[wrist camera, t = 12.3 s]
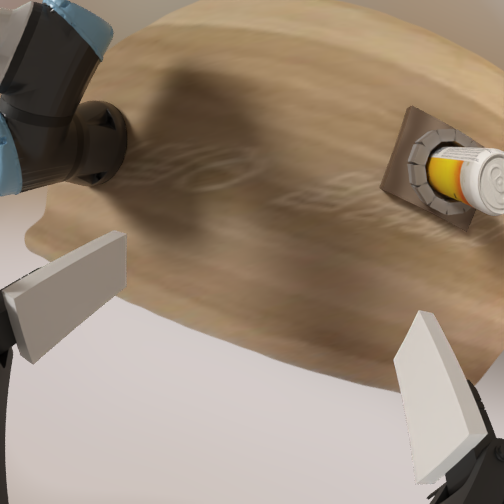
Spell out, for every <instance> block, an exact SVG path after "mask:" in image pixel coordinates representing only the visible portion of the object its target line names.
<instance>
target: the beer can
mask: <svg viewBox="0 0 504 504" xmlns="http://www.w3.org/2000/svg"><path fill="white" fill-rule="evenodd" d="M425 169H426V177H427V179H428V182H429V183H430V185H431V186H432V187H433V188H434V189H435V190H436V191H438V192H440V193H442V194H444V195H447V196H449V197H451V198H454V199H456V200H458V201H460V202H462V203H465V204H467V205H469V206H471V207H473V208H475V209H477V210H480V211H482V212H484V213H486V214H488V215H491V216H499V215H502V214H504V152H503V151H501V150H499V149H494V148H473V147H439V148H437V149H435V150H434V151H432V152H431V154H430V155H429V156H428V159H427V162H426V167H425Z"/></svg>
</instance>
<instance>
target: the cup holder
mask: <svg viewBox="0 0 504 504" xmlns="http://www.w3.org/2000/svg"><path fill="white" fill-rule="evenodd" d="M439 147H473V148H485V147H483V146H482V145H480V144H479V143H477V142H476V141H474V140H472V138H470V137H469V136H467V135H465V134H464V133H462V132H460V131H459V130H456V129H454V128H453V127H451V126H449V125H448V124H446V123H444V122H442V121H440V120H439V119H437V118H435V117H433V116H431V115H429V114H427V113H425V112H424V111H422V110H420V109H418V108H416V107H414V106H410V107H409V108H407V110H406V114H405V117H404V120H403V123H402V126H401V129H400V132H399V135H398V138H397V141H396V144H395V147H394V150H393V153H392V155H391V158H390V161H389V164H388V166H387V169H386V172H385V175H384V177H383V180H382V183H381V185H380V188H381V189H382V190H384V191H386V192H389V193H391V194H393V195H395V196H397V197H400V198H402V199H404V200H406V201H408V202H410V203H412V204H414V205H416V206H418V207H420V208H422V209H424V210H426V211H428V212H430V213H432V214H434V215H436V216H438V217H440V218H442V219H444V220H446V221H448V222H449V223H451V224H453V225H455V226H457V227H459V228H461V229H462V230H464V231H466V232H467V230H468V228H469V225H470V223H471V220H472V218H473V216H474V213H475V211H476V209H475V208H473V207H471V206H469V205H467V204H465V203H462V202H460V201H458V200H456V199H454V198H451V197H449V196H447V195H444V194H442V193H440V192H438V191H436V190H435V189H434V188H433V187H432V186H431V185H430V183H429V182H428V179H427V177H426V169H425V167H426V162H427V159H428V156H429V155H430V154H431V152H432V151H434V150H435V149H437V148H439Z"/></svg>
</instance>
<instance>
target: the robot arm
mask: <svg viewBox="0 0 504 504" xmlns="http://www.w3.org/2000/svg"><path fill="white" fill-rule="evenodd" d="M112 38H113V29H112V27H111V26H110V25H109V24H108V23H107V22H106V21H104V20H103V19H102V18H100V17H98V16H96V15H95V14H94V13H92V12H90V11H88V10H87V9H84V8H83V7H81V6H79V5H77V4H75V3H71V2H70V1H67V0H43V4H40V3H37V2H33V1H30V2H28V3H26V4H24V5H22V6H20V7H18V8H17V9H14V10H11V9H5V8H0V93H1V94H2V95H1V98H0V196H5V195H11V194H15V195H17V194H19V193H21V192H25V191H28V190H32V189H35V188H39V187H43V186H47V185H51V184H55V183H59V182H63V181H66V182H70V183H74V184H78V185H83V186H93V185H97V184H101V183H104V182H106V181H108V180H109V179H110V178H112V177H113V176H114V175H115V173H116V172H117V171H118V169H119V167H120V166H121V164H122V161H123V159H124V155H125V151H126V145H127V132H126V126H125V122H124V120H123V117H122V115H121V114H120V112H119V111H118V109H117V108H116V107H114V106H113V105H112V104H110V103H107V102H103V101H88V102H84V103H82V104H79V103H80V101H81V99H82V97H83V94H84V92H85V90H86V88H87V86H88V84H89V82H90V80H91V78H92V77H93V75H94V73H95V71H96V69H97V67H98V65H99V64H100V62H102V60H103V55H104V54H105V52H106V50H107V47H108V46H109V44H110V42H111V40H112ZM126 247H127V234H126V233H122V232H119V231H115V230H113V231H111V232H109V233H107V234H105V235H103V236H101V237H99V238H97V239H95V240H93V241H91V242H89V243H87V244H85V245H83V246H81V247H79V248H77V249H75V250H73V251H71V252H69V253H67V254H66V255H64V256H62V257H60V258H58V259H56V260H54V261H52V262H51V263H49V264H47V265H45V266H43V267H41V268H38V269H36V270H34V271H32V272H31V273H29V275H25V276H23V277H22V279H18V280H16V281H15V282H13V283H11V284H10V285H8V286H6V287H5V288H3V289H1V290H0V504H9V503H8V494H7V484H6V467H5V423H6V408H7V396H8V387H9V379H10V371H11V365H12V359H13V350H12V346H13V345H14V344H16V343H17V346H18V349H19V352H20V355H21V356H22V357H24V358H25V359H26V360H27V361H29V362H30V363H32V364H34V363H36V362H37V361H38V360H39V359H40V358H41V357H42V356H43V355H45V354H46V353H47V352H48V351H49V350H50V349H52V348H53V347H54V346H55V345H56V344H57V343H58V342H60V341H61V340H62V339H63V338H64V337H66V336H67V335H68V334H69V333H70V332H71V331H72V330H74V329H75V328H76V327H77V326H78V325H80V324H81V323H82V322H83V321H85V320H86V319H87V318H88V317H89V316H91V315H92V314H93V313H94V312H95V311H97V310H98V309H99V308H100V307H102V306H103V305H104V304H105V303H106V302H108V301H109V300H110V299H111V298H113V297H114V296H115V295H116V294H118V293H119V292H120V291H121V290H123V289H124V288H125V287H126ZM394 365H395V369H396V373H397V377H398V382H399V386H400V391H401V396H402V401H403V406H404V410H405V416H406V421H407V427H408V433H409V439H410V446H411V452H412V460H413V468H414V476H415V484H434V483H435V482H436V481H437V480H439V479H440V478H441V477H442V476H444V475H445V476H446V481H447V482H446V483H444V484H443V485H442V486H441V487H439V488H438V489H437V490H435V491H434V492H433V493H431V494H430V495H429V496H428V497H427V499H430V498H431V497H433V496H434V495H435V497H434V498H433V500H432V501H431V503H430V504H504V439H502V438H496V436H495V433H494V430H493V428H492V425H491V422H490V420H489V417H488V415H487V412H486V410H484V405H483V403H482V402H481V398H480V396H479V394H478V391H477V389H476V388H475V387H474V385H473V384H472V383H471V382H470V381H469V380H466V378H465V376H464V374H463V371H462V369H461V367H460V365H459V363H458V361H457V359H456V357H455V354H454V352H453V350H452V348H451V346H450V344H449V342H448V340H447V338H446V336H445V335H444V333H443V331H442V329H441V327H440V325H439V323H438V321H437V319H436V318H435V316H434V314H433V313H430V312H425V311H421V310H419V311H418V313H417V315H416V317H415V319H414V321H413V323H412V325H411V327H410V329H409V331H408V333H407V335H406V337H405V339H404V341H403V343H402V345H401V347H400V349H399V350H398V352H397V354H396V356H395V358H394Z"/></svg>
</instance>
